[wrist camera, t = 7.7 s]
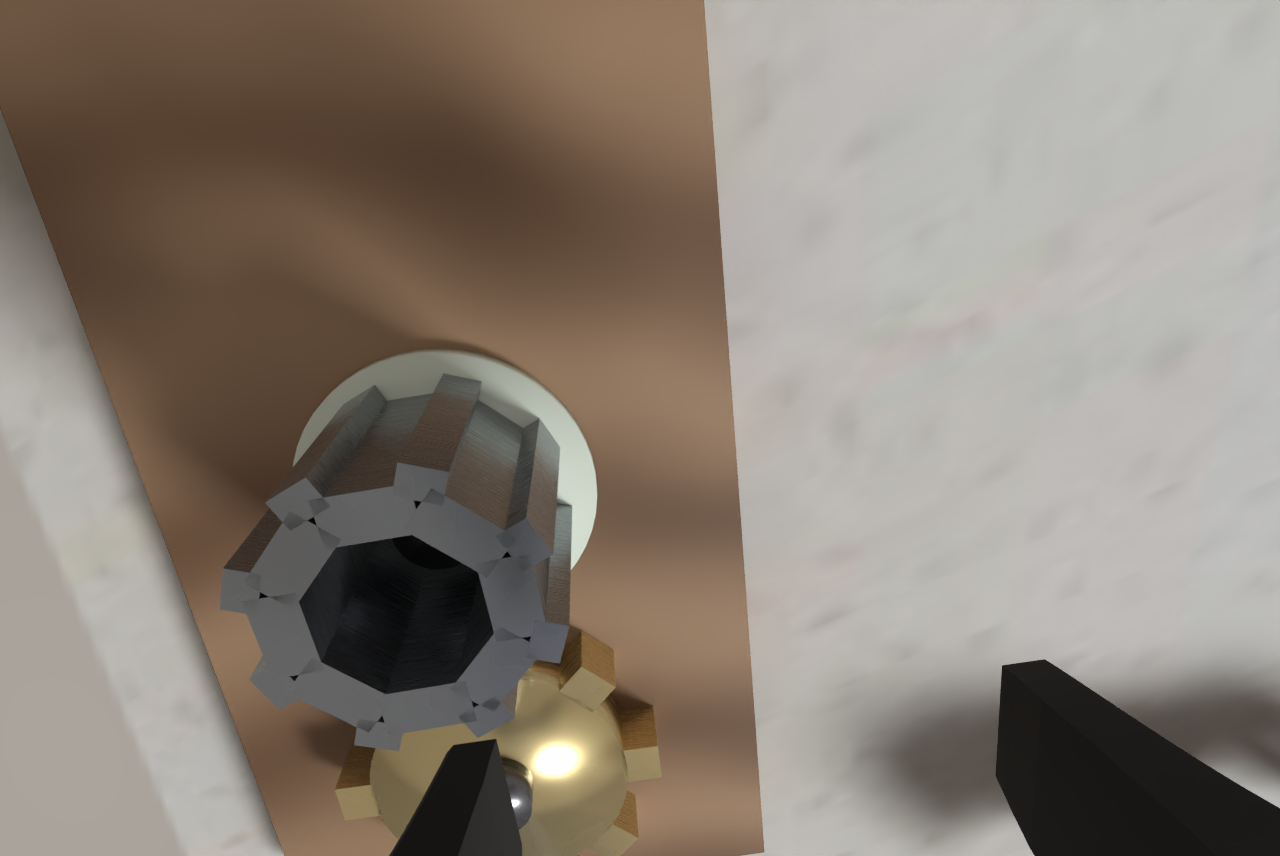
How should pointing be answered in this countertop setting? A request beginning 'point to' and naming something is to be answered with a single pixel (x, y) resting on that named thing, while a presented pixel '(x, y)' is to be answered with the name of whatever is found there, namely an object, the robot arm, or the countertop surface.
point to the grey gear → (409, 566)
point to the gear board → (424, 351)
